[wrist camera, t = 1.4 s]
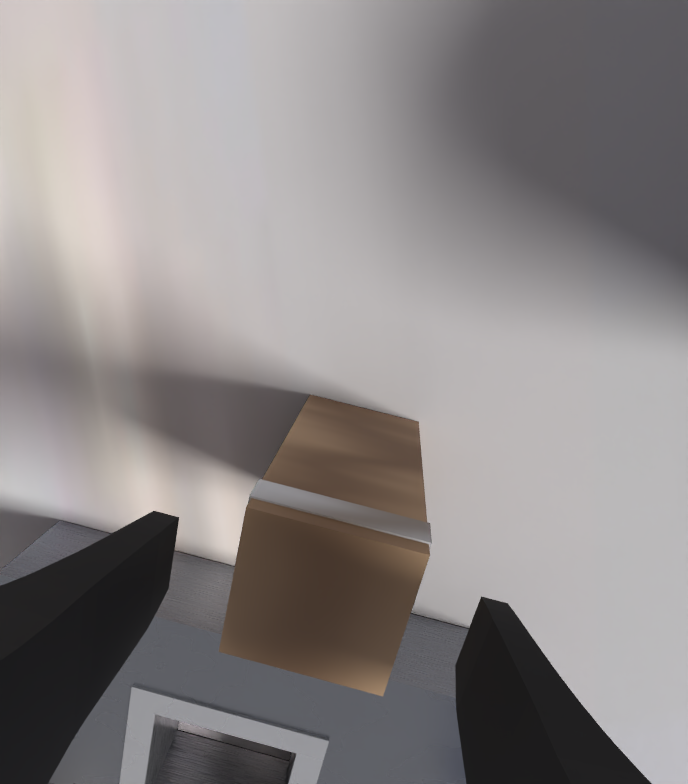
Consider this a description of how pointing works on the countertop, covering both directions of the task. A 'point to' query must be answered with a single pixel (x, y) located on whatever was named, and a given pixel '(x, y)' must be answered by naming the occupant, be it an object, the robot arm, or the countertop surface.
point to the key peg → (332, 548)
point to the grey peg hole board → (254, 699)
